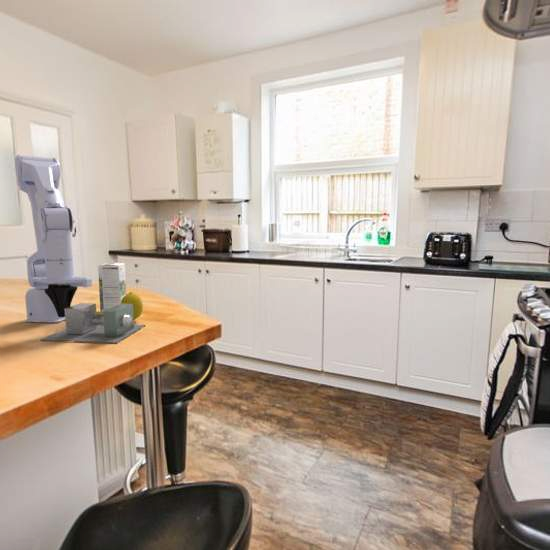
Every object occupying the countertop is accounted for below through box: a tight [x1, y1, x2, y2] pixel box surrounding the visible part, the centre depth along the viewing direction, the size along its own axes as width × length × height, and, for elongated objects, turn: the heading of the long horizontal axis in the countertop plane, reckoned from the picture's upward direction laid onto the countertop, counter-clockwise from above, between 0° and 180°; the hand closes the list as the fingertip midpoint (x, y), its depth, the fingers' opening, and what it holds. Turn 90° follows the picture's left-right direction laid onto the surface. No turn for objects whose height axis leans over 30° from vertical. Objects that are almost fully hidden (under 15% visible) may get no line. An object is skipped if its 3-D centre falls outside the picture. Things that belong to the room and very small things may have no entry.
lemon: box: [121, 291, 144, 321], centre depth 101 cm, size 6×6×8 cm
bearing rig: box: [92, 304, 135, 338], centre depth 90 cm, size 8×8×6 cm
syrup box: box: [97, 262, 127, 312], centre depth 109 cm, size 6×6×14 cm
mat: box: [40, 324, 146, 344], centre depth 91 cm, size 18×14×1 cm
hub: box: [64, 302, 97, 334], centre depth 91 cm, size 4×6×6 cm, turn 174°
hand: (63, 316), depth 91 cm, fingers closed
